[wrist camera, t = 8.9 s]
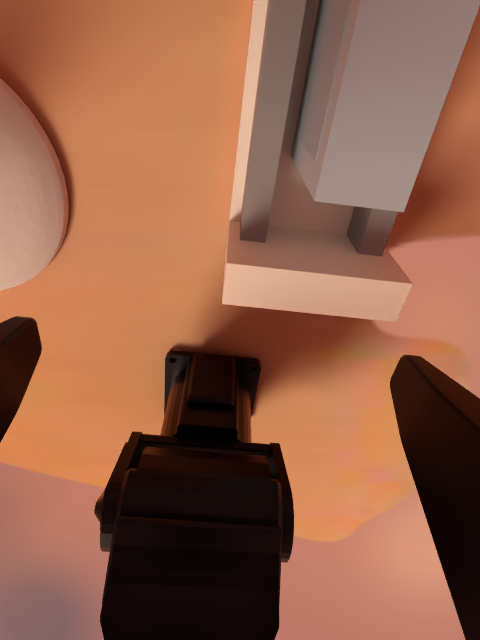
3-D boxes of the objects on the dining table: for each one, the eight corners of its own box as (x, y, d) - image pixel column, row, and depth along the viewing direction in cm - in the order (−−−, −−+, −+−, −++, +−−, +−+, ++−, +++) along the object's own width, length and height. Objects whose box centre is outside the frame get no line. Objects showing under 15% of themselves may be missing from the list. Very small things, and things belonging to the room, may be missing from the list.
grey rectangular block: (353, 163, 18) (405, 212, 13) (289, 155, 18) (312, 201, 12) (427, -108, 13) (570, -234, 8) (340, -124, 13) (419, -266, 7)
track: (362, 263, 22) (396, 322, 18) (226, 248, 22) (221, 303, 17) (566, -351, 11) (824, -674, 6) (299, -414, 11) (349, -819, 6)
